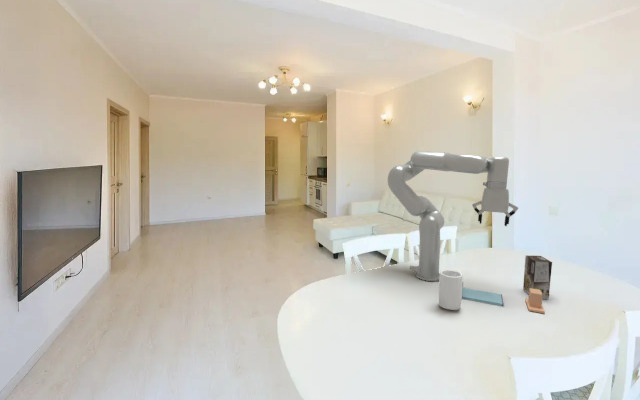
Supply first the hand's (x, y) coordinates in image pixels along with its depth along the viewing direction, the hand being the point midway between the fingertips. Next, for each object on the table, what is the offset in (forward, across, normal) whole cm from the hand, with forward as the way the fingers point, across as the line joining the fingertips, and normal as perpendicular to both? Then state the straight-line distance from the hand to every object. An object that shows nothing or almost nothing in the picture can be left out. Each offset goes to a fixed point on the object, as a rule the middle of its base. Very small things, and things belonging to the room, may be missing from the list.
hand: (492, 224), depth 132 cm
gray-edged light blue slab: (+30, -4, -12) cm, 32 cm away
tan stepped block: (+29, +16, -11) cm, 35 cm away
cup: (+30, -13, -28) cm, 43 cm away
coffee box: (+30, +18, +2) cm, 35 cm away
